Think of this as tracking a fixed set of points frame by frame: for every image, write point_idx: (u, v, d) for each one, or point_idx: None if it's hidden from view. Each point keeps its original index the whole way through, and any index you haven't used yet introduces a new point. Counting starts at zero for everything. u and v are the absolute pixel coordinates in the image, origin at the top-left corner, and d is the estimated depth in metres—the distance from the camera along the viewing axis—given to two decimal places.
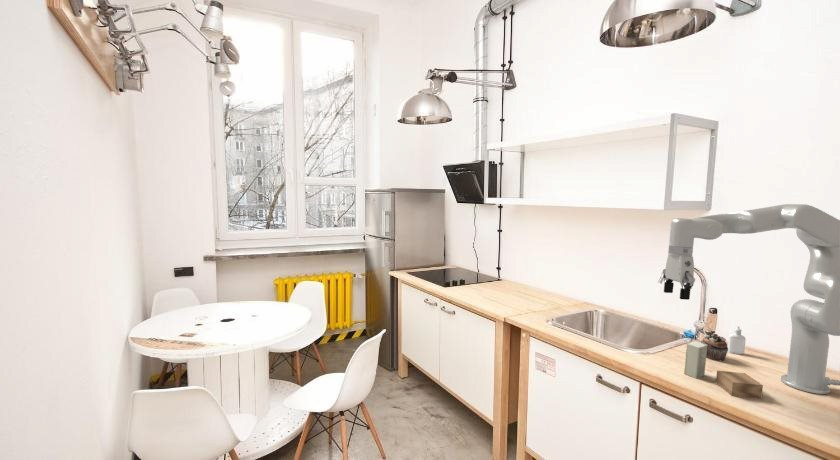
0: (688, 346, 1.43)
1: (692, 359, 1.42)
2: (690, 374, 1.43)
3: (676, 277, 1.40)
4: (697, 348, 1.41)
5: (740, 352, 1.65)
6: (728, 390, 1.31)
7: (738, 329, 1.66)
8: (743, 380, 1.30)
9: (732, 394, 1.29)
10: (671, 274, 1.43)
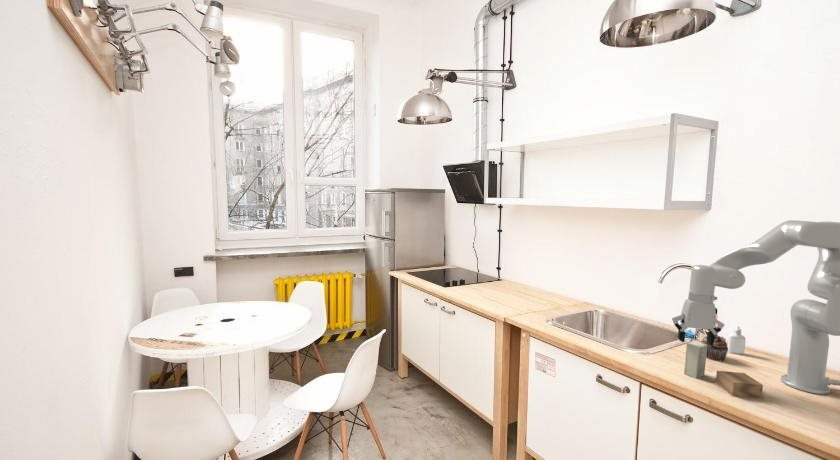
0: (688, 346, 1.43)
1: (692, 359, 1.42)
2: (690, 374, 1.43)
3: (708, 325, 1.40)
4: (697, 348, 1.41)
5: (740, 352, 1.65)
6: (729, 390, 1.31)
7: (738, 329, 1.66)
8: (743, 380, 1.30)
9: (733, 394, 1.29)
10: (701, 323, 1.40)
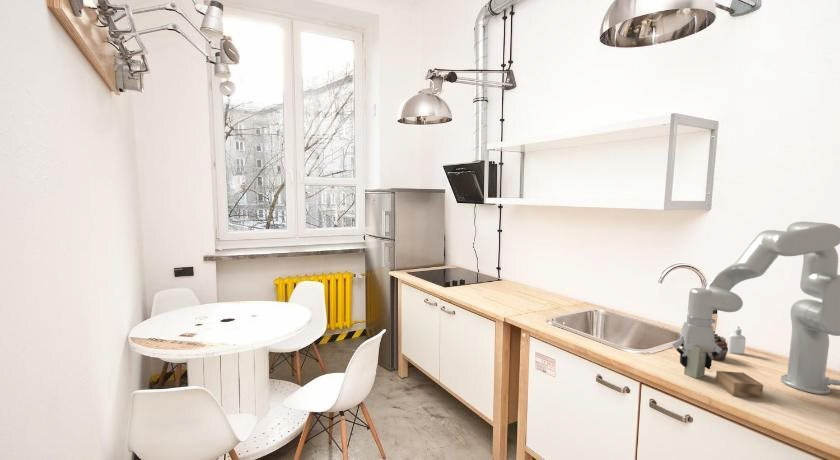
0: None
1: (692, 359, 1.42)
2: (690, 374, 1.43)
3: (707, 348, 1.41)
4: (697, 348, 1.41)
5: (740, 352, 1.65)
6: (729, 391, 1.31)
7: (738, 329, 1.66)
8: (744, 380, 1.30)
9: (734, 395, 1.29)
10: (700, 346, 1.41)
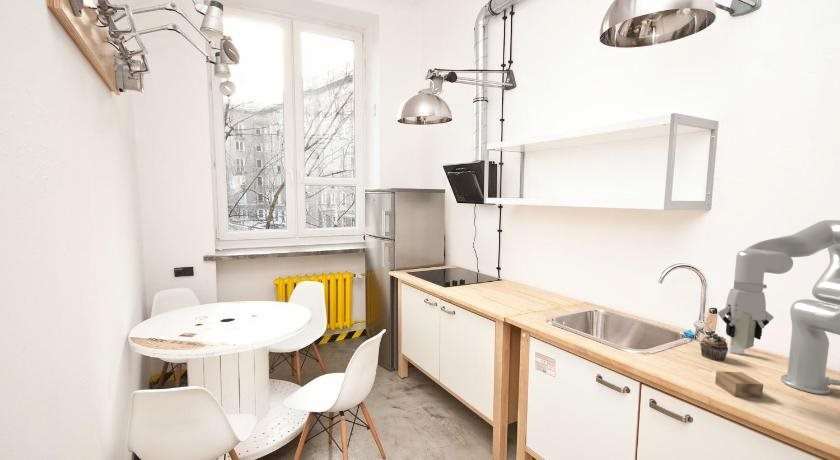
0: None
1: (740, 329, 1.29)
2: (738, 345, 1.30)
3: (758, 316, 1.28)
4: (747, 316, 1.28)
5: (740, 352, 1.65)
6: (730, 391, 1.30)
7: None
8: (744, 380, 1.30)
9: (735, 395, 1.29)
10: (750, 313, 1.28)
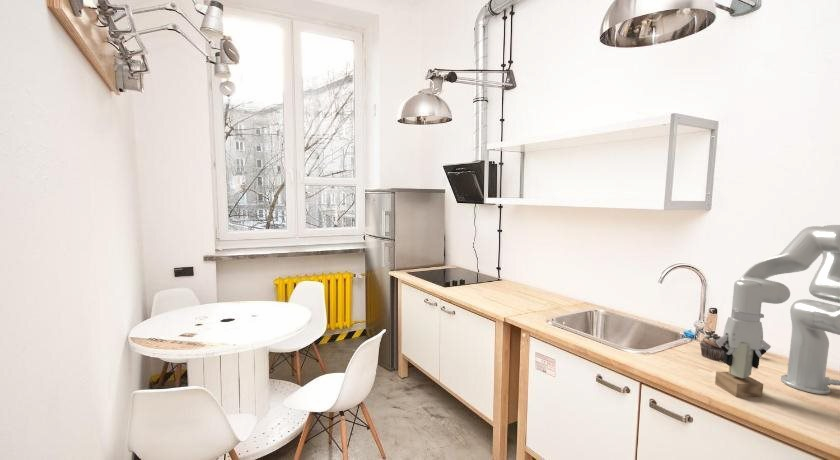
0: None
1: (738, 358, 1.30)
2: (736, 374, 1.31)
3: (755, 346, 1.29)
4: (744, 345, 1.29)
5: None
6: (731, 392, 1.30)
7: None
8: (744, 380, 1.30)
9: (736, 395, 1.28)
10: (747, 343, 1.29)
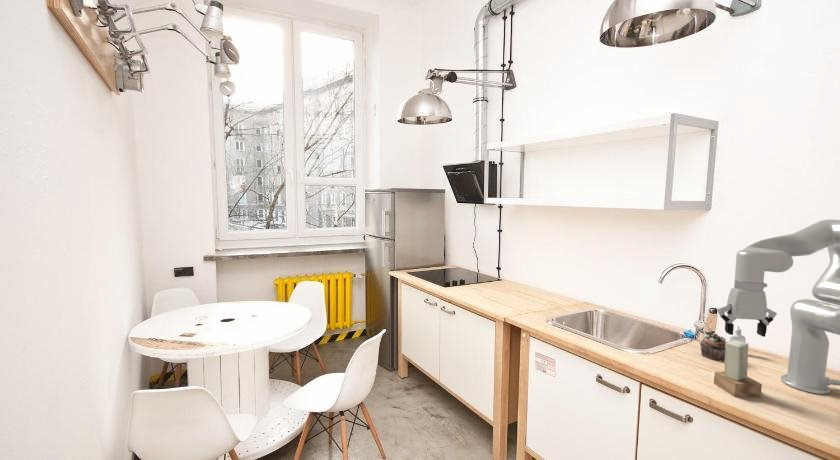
0: (727, 346, 1.32)
1: (732, 360, 1.31)
2: (731, 376, 1.31)
3: (759, 315, 1.28)
4: (737, 347, 1.29)
5: None
6: (730, 391, 1.30)
7: (738, 329, 1.66)
8: (743, 380, 1.31)
9: (735, 395, 1.29)
10: (751, 313, 1.28)
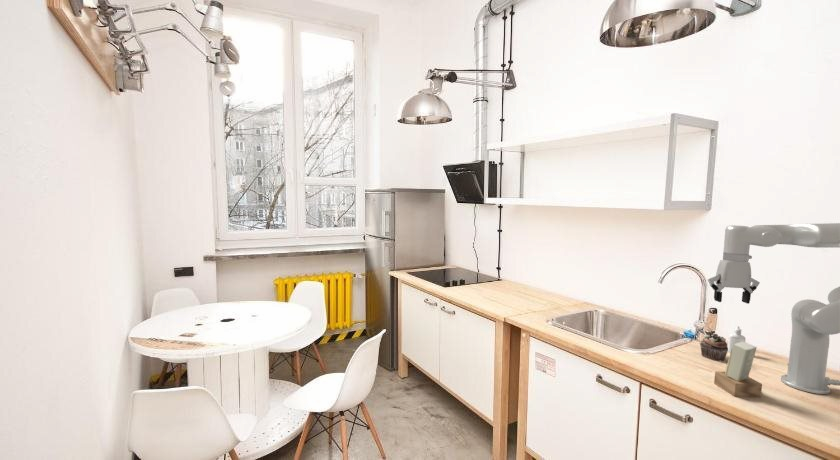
0: (734, 347, 1.30)
1: (736, 361, 1.30)
2: (732, 376, 1.31)
3: (744, 284, 1.42)
4: (744, 350, 1.28)
5: None
6: (730, 391, 1.30)
7: (738, 329, 1.66)
8: (743, 380, 1.31)
9: (735, 395, 1.29)
10: (737, 281, 1.43)
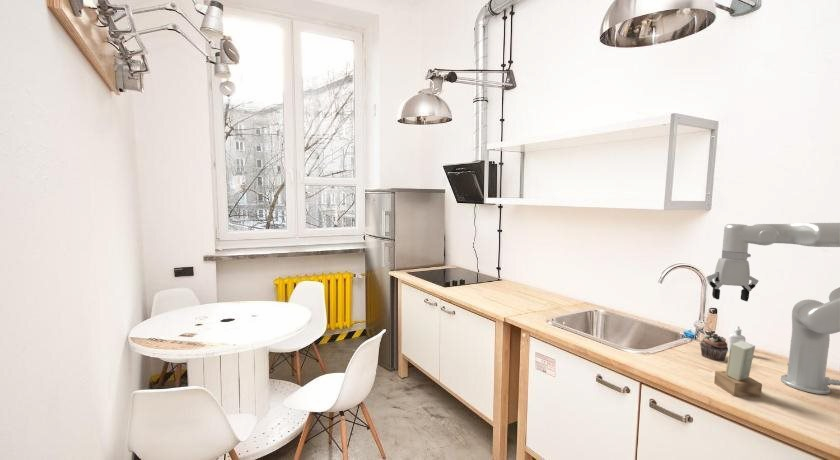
0: (732, 346, 1.31)
1: (735, 361, 1.30)
2: (732, 376, 1.32)
3: (742, 282, 1.44)
4: (743, 349, 1.28)
5: None
6: (729, 391, 1.31)
7: (738, 329, 1.66)
8: (743, 380, 1.31)
9: (734, 395, 1.29)
10: (735, 279, 1.44)
